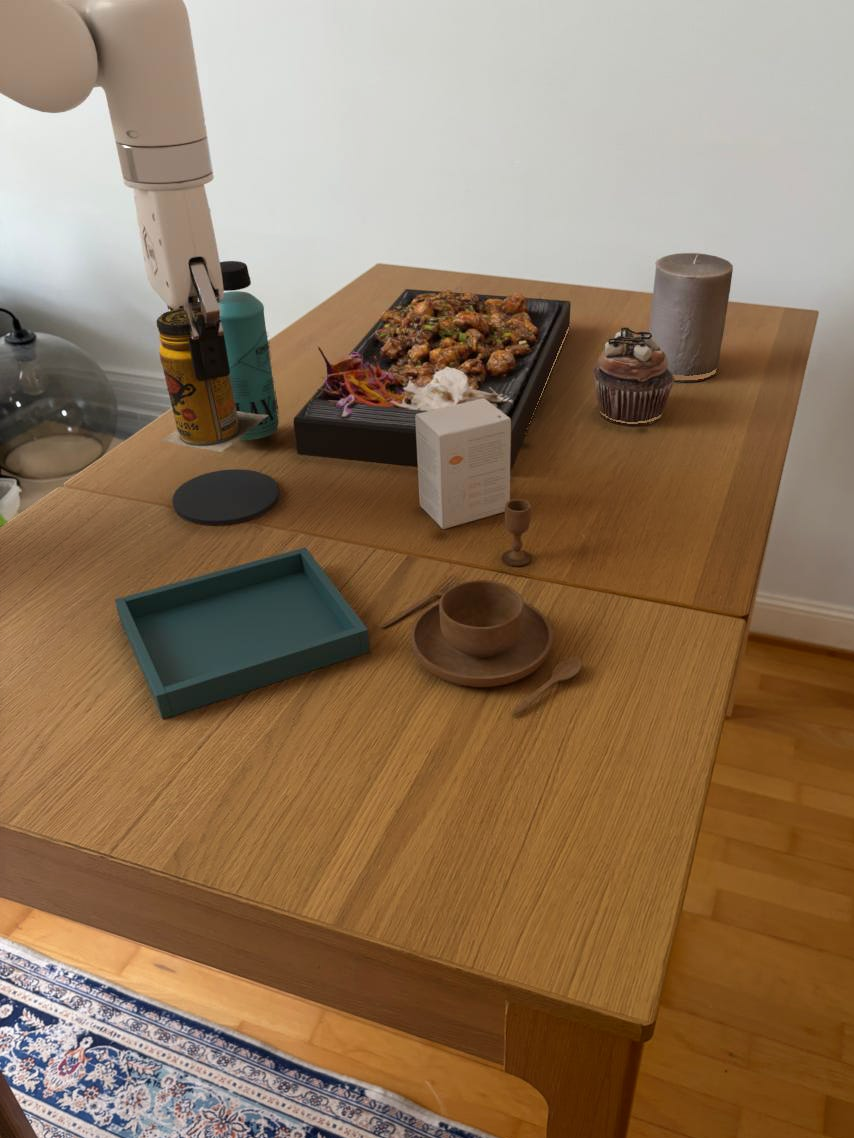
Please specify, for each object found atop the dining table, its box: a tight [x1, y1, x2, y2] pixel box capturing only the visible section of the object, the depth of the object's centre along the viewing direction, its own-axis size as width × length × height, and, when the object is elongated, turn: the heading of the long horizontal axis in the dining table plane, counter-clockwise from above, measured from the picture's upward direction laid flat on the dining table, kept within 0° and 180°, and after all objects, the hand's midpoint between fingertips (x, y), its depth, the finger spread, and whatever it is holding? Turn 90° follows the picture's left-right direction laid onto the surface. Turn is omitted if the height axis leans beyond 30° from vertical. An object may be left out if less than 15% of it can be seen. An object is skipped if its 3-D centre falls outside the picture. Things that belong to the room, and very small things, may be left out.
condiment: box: [156, 308, 268, 453], centre depth 95 cm, size 7×8×12 cm
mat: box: [171, 468, 280, 526], centre depth 103 cm, size 11×11×1 cm
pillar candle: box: [648, 252, 734, 383], centre depth 127 cm, size 10×10×15 cm
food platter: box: [292, 288, 572, 473], centre depth 124 cm, size 45×25×10 cm, turn 167°
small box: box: [415, 398, 511, 530], centre depth 98 cm, size 8×6×10 cm
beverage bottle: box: [218, 260, 281, 441], centre depth 108 cm, size 6×7×20 cm
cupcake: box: [593, 326, 675, 427], centre depth 117 cm, size 10×10×10 cm
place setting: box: [380, 498, 583, 717], centre depth 84 cm, size 18×20×6 cm
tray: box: [114, 547, 371, 720], centre depth 84 cm, size 18×15×2 cm
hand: (202, 363), depth 94 cm, fingers closed on condiment, 6 cm apart
